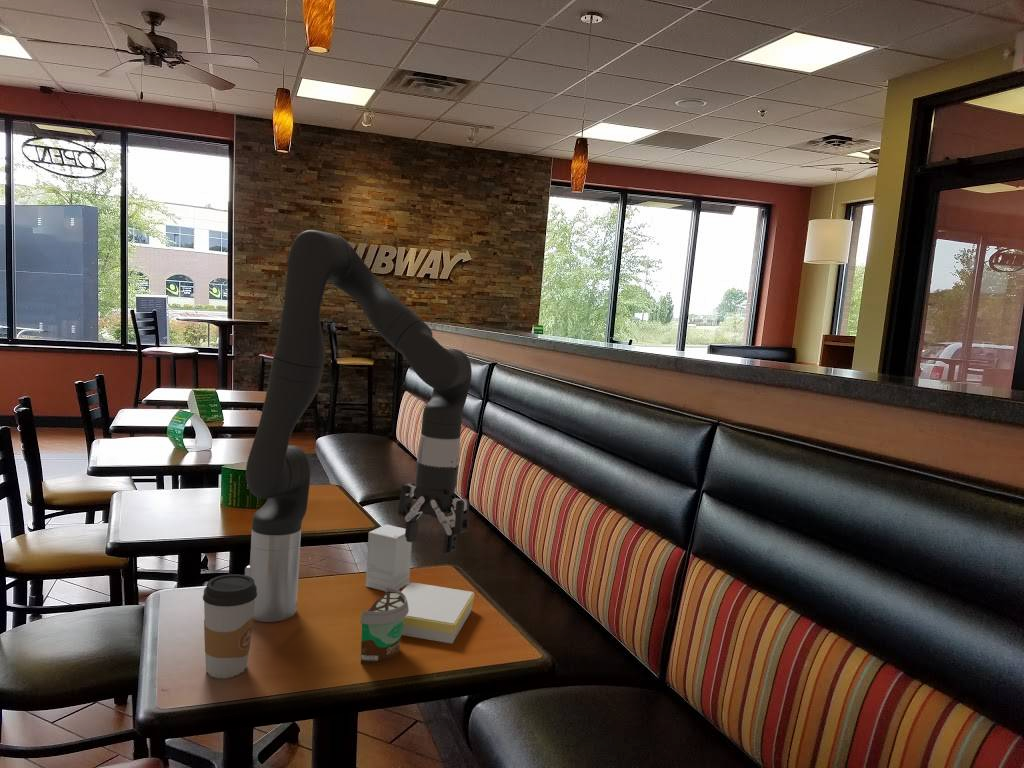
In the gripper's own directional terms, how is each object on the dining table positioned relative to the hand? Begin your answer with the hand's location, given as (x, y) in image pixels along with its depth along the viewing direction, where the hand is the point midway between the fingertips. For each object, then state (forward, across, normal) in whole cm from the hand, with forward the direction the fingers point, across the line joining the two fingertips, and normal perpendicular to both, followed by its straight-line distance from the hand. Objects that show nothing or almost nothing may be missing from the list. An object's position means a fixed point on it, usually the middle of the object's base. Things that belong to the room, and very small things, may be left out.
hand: (429, 547), depth 127 cm
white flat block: (+20, -6, +11) cm, 23 cm away
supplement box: (+20, -24, +19) cm, 37 cm away
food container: (+20, -3, -5) cm, 21 cm away
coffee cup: (+20, -20, -27) cm, 39 cm away
